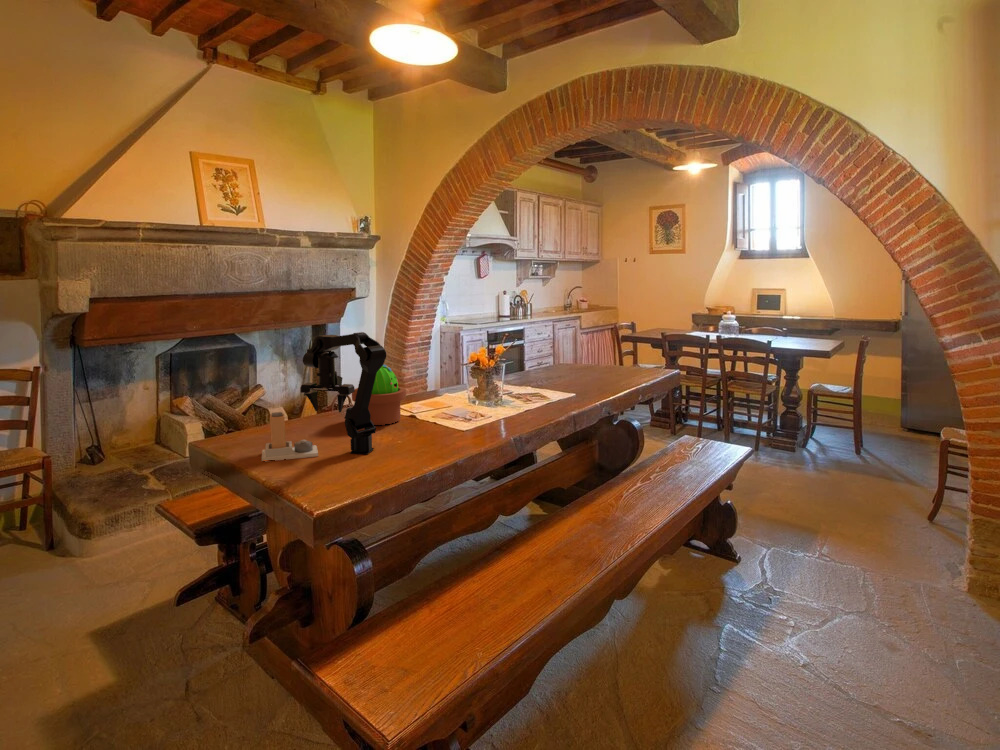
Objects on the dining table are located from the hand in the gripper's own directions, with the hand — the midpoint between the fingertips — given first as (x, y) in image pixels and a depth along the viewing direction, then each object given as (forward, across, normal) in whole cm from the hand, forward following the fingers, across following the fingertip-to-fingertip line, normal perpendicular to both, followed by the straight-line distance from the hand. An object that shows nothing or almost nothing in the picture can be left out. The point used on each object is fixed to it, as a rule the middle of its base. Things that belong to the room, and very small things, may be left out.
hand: (328, 411), depth 214 cm
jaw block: (+11, +10, +18) cm, 23 cm away
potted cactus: (+12, -6, -35) cm, 38 cm away
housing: (+12, +7, +16) cm, 21 cm away
